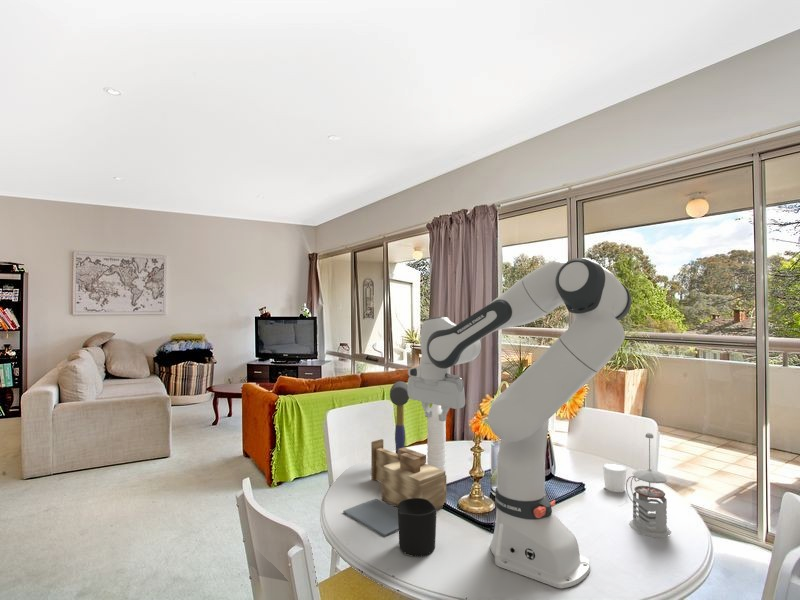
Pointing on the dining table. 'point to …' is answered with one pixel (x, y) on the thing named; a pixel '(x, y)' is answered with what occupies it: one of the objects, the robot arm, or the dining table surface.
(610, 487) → the white cup
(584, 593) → the dining table surface
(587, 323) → the robot arm
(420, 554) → the pen holder
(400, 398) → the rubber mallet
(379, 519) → the mat
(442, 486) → the wooden open box
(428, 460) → the water bottle
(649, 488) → the french press
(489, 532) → the dining table surface
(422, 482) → the lid
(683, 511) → the dining table surface
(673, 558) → the dining table surface
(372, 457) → the rail
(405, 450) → the key
